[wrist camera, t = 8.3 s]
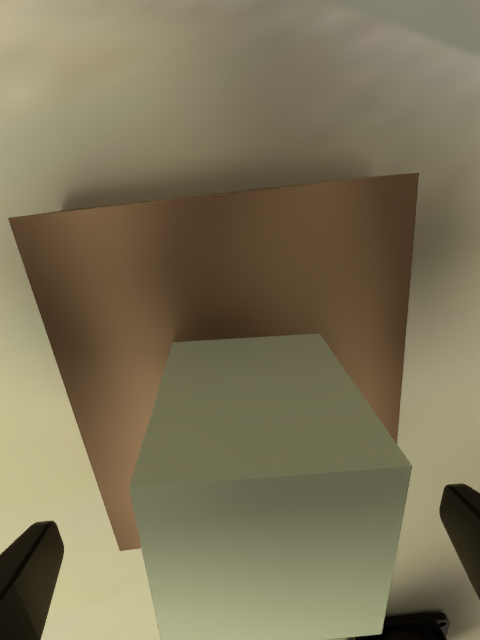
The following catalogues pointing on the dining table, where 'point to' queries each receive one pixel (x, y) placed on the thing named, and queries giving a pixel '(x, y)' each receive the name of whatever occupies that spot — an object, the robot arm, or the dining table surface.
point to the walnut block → (216, 297)
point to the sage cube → (266, 495)
